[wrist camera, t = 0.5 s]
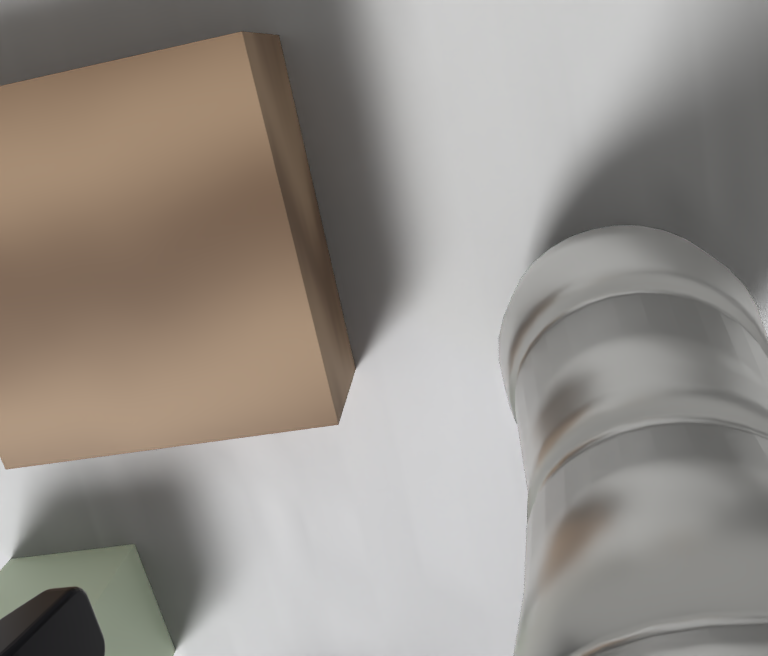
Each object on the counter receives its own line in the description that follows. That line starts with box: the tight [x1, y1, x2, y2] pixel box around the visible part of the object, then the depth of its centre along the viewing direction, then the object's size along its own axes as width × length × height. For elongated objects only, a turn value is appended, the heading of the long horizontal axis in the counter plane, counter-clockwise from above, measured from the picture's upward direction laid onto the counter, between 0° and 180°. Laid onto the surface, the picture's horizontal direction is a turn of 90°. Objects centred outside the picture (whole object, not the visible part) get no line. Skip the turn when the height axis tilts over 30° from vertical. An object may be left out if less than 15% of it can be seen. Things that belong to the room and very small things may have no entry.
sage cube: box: [0, 544, 175, 656], centre depth 25 cm, size 5×5×5 cm
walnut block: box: [0, 31, 356, 469], centre depth 20 cm, size 10×10×4 cm
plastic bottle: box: [499, 225, 768, 656], centre depth 12 cm, size 6×7×20 cm
